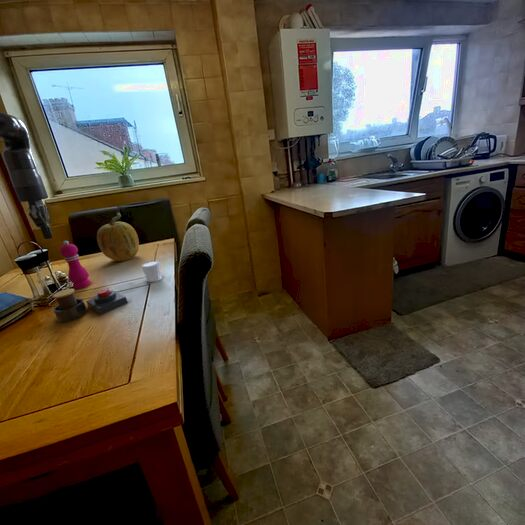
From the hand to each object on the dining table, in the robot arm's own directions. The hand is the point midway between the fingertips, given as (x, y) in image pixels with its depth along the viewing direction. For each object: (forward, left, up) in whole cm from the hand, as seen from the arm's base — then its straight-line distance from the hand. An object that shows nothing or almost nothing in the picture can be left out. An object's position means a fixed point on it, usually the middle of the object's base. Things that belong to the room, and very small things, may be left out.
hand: (49, 238), depth 93 cm
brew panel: (+6, -13, -25) cm, 29 cm away
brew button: (+6, -13, -21) cm, 26 cm away
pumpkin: (+35, +37, -25) cm, 57 cm away
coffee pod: (-4, -9, -25) cm, 26 cm away
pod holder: (-4, -9, -25) cm, 27 cm away
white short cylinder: (+27, -8, -25) cm, 38 cm away
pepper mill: (+8, +18, -25) cm, 32 cm away
